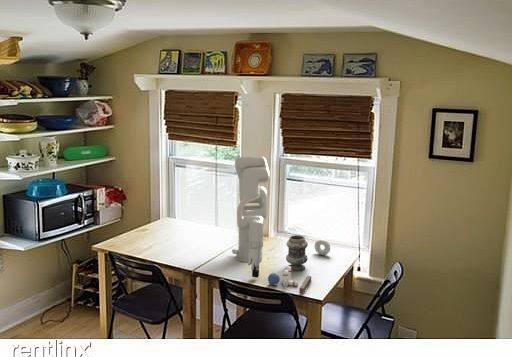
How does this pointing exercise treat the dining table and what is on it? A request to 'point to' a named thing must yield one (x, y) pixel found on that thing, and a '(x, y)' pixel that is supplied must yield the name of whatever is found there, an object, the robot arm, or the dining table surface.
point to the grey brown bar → (305, 284)
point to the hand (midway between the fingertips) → (255, 276)
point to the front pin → (291, 282)
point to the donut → (326, 245)
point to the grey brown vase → (296, 252)
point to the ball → (273, 279)
